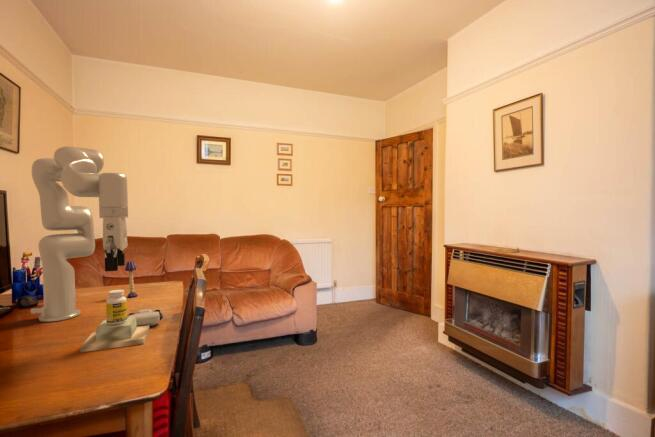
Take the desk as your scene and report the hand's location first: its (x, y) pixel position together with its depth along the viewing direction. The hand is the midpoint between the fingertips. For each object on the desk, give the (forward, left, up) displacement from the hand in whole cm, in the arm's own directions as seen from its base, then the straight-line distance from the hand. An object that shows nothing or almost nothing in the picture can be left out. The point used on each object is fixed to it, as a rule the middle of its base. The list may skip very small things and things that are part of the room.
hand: (115, 268), depth 105 cm
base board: (0, -1, -22) cm, 22 cm away
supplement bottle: (0, -1, -17) cm, 17 cm away
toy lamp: (-6, +59, -23) cm, 64 cm away
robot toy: (+6, +14, -23) cm, 27 cm away
